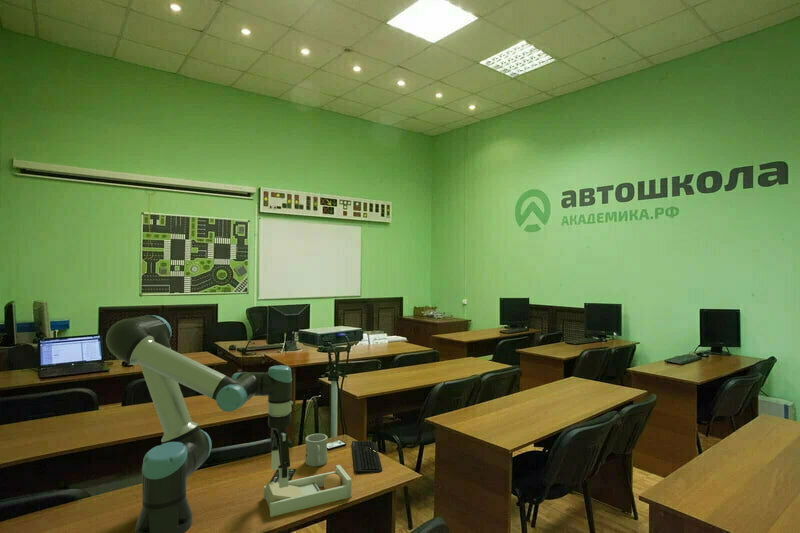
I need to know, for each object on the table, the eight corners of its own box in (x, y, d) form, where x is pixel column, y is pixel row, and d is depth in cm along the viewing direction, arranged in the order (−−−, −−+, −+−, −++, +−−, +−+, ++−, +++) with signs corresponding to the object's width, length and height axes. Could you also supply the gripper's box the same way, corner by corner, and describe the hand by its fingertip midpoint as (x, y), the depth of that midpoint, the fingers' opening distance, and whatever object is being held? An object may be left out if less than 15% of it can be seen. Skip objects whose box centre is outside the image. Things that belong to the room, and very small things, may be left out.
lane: (270, 516, 136) (270, 497, 136) (263, 498, 147) (263, 480, 147) (351, 496, 148) (351, 479, 148) (339, 481, 159) (339, 464, 159)
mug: (304, 459, 178) (304, 434, 178) (326, 456, 180) (326, 432, 181) (306, 472, 166) (306, 446, 166) (330, 469, 169) (330, 443, 169)
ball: (323, 491, 147) (333, 475, 148) (318, 484, 152) (327, 468, 154) (337, 498, 149) (346, 481, 151) (331, 490, 154) (340, 474, 156)
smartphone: (296, 468, 169) (287, 487, 154) (296, 470, 169) (287, 489, 154) (277, 468, 169) (266, 487, 154) (277, 470, 168) (266, 489, 154)
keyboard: (383, 473, 166) (383, 468, 166) (354, 475, 164) (354, 470, 164) (375, 443, 195) (375, 439, 195) (351, 444, 194) (351, 440, 194)
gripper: (300, 423, 134) (299, 492, 134) (283, 401, 156) (283, 460, 156) (275, 427, 131) (275, 497, 130) (262, 404, 153) (261, 464, 153)
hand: (279, 477), depth 143 cm, fingers open, 13 cm apart
